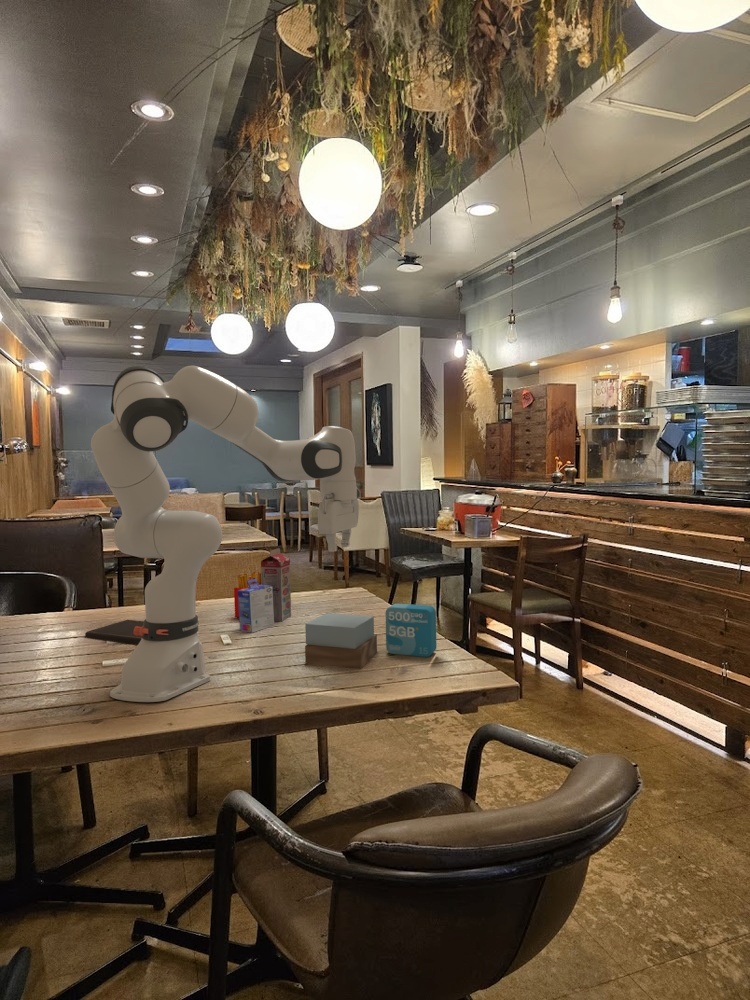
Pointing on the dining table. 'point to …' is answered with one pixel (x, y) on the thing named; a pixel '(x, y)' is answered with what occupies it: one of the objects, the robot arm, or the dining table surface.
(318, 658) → the walnut base block
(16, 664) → the dining table surface
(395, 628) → the data package
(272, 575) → the juice carton
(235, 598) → the french fries container
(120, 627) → the hardcover book
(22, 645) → the dining table surface
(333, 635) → the slate top block
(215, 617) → the dining table surface
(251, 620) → the ink cartridge box
